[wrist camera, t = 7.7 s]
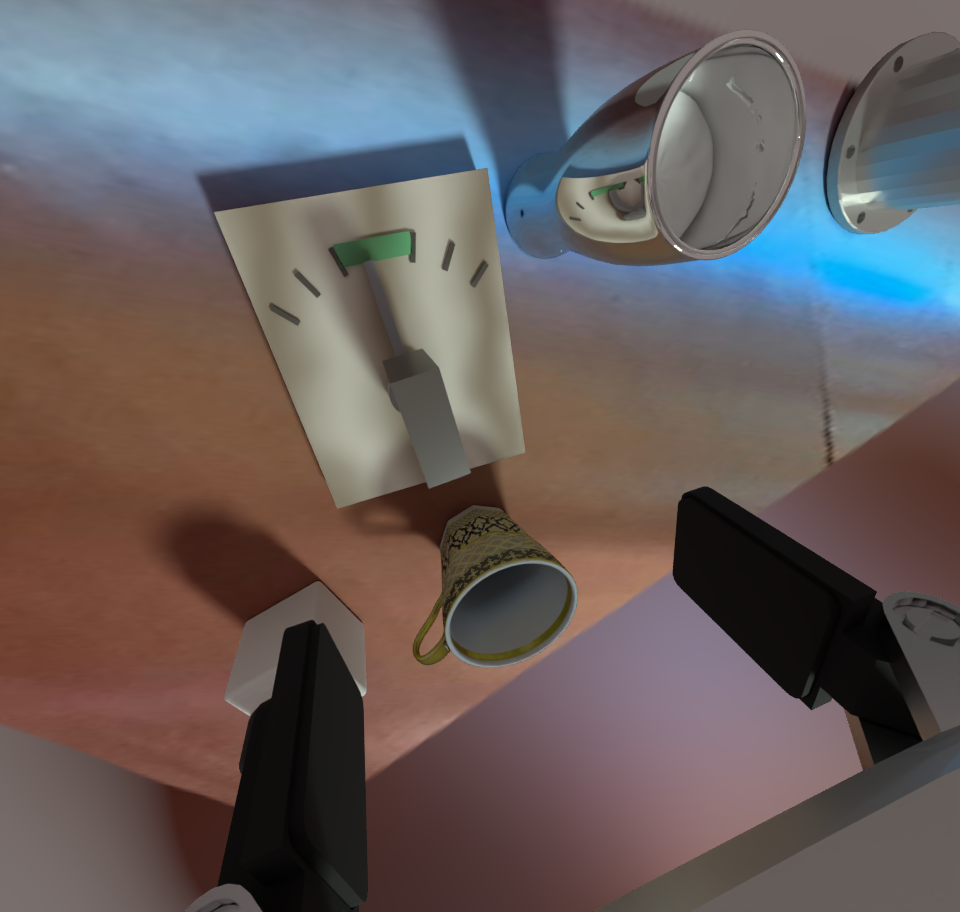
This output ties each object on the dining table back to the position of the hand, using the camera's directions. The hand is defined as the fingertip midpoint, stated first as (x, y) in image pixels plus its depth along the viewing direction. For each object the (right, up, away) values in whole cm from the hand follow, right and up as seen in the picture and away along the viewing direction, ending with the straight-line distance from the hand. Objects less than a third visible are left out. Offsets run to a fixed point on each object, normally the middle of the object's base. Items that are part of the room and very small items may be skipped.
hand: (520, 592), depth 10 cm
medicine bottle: (-16, -11, +26) cm, 32 cm away
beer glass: (+3, +20, +17) cm, 27 cm away
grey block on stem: (-6, +10, +16) cm, 20 cm away
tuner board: (-7, +11, +18) cm, 22 cm away
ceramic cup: (-3, -5, +27) cm, 27 cm away
